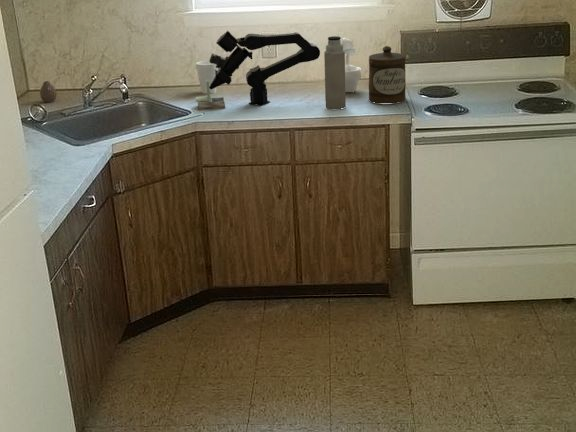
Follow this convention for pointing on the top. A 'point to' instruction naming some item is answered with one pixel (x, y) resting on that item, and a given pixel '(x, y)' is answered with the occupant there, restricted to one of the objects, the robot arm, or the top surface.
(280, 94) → the top surface
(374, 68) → the wooden container
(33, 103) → the top surface
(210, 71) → the foam cup
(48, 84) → the avocado
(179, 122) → the top surface
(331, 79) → the thermos bottle
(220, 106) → the station
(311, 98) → the top surface
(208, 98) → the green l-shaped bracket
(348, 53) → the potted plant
